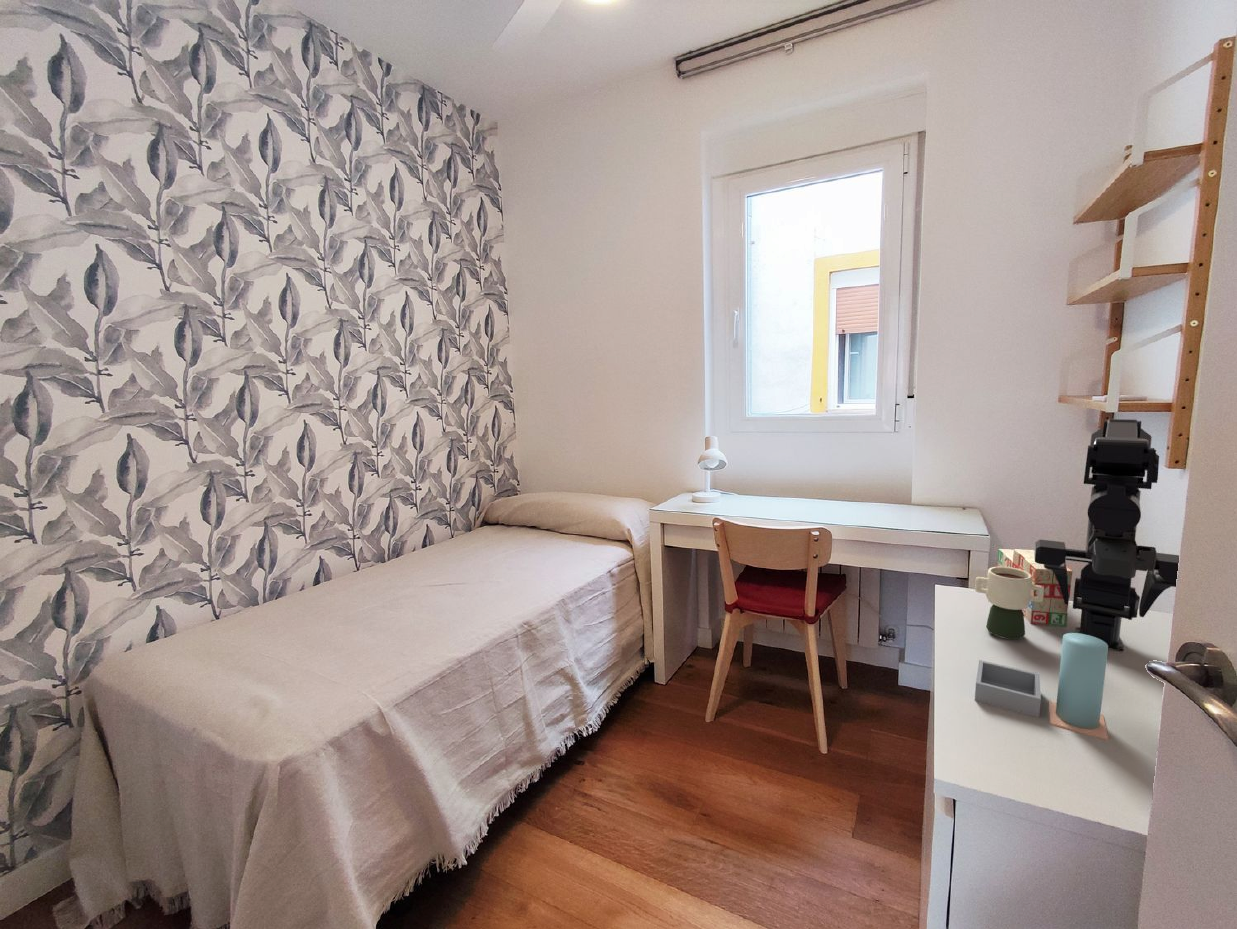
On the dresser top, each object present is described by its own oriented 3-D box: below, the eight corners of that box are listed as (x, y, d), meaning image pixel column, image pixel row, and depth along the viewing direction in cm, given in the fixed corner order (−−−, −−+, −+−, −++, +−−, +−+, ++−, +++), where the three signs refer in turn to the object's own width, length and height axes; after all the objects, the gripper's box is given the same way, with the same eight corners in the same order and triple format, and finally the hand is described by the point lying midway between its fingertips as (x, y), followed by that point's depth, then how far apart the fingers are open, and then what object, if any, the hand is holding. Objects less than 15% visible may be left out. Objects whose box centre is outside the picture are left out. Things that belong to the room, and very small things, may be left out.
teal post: (1050, 705, 84) (1057, 631, 82) (1090, 711, 82) (1098, 635, 80) (1062, 725, 79) (1070, 646, 77) (1105, 732, 78) (1114, 651, 76)
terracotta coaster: (1048, 704, 85) (1048, 700, 85) (1102, 718, 82) (1102, 714, 81) (1050, 726, 80) (1050, 722, 80) (1107, 742, 76) (1108, 738, 76)
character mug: (1038, 633, 107) (1043, 571, 105) (1040, 649, 101) (1046, 583, 99) (972, 621, 113) (976, 562, 111) (971, 635, 107) (975, 573, 105)
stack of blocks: (995, 584, 131) (999, 536, 129) (1026, 587, 129) (1030, 537, 127) (1030, 624, 111) (1035, 567, 109) (1067, 627, 109) (1073, 569, 107)
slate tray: (977, 677, 93) (979, 659, 93) (1037, 692, 88) (1039, 673, 88) (974, 702, 87) (975, 682, 86) (1038, 719, 82) (1040, 699, 81)
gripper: (1039, 522, 85) (1031, 615, 87) (1212, 539, 74) (1197, 645, 76) (1038, 507, 94) (1030, 591, 96) (1191, 520, 83) (1179, 615, 85)
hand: (1102, 609), depth 88 cm, fingers open, 9 cm apart
